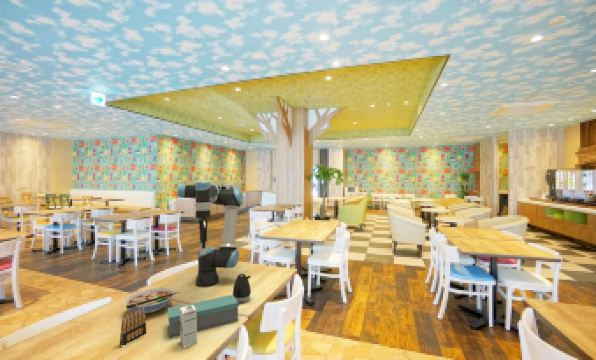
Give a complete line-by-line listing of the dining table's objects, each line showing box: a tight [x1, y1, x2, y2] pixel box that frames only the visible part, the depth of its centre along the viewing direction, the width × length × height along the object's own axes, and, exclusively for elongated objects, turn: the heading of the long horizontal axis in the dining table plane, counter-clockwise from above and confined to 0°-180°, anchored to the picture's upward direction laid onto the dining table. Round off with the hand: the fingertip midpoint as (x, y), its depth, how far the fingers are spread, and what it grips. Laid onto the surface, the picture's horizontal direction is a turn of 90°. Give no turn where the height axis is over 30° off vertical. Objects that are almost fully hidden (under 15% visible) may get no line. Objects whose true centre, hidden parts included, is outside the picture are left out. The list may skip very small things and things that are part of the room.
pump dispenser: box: [232, 273, 252, 303], centre depth 153 cm, size 10×10×15 cm
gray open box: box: [168, 307, 239, 338], centre depth 129 cm, size 12×30×7 cm, turn 118°
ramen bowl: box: [125, 287, 180, 314], centre depth 142 cm, size 25×23×8 cm
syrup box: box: [179, 305, 198, 348], centre depth 113 cm, size 6×6×14 cm
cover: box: [167, 294, 240, 323], centre depth 129 cm, size 13×31×2 cm, turn 118°
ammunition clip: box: [119, 308, 147, 346], centre depth 116 cm, size 11×2×12 cm, turn 157°
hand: (203, 253), depth 143 cm, fingers closed
